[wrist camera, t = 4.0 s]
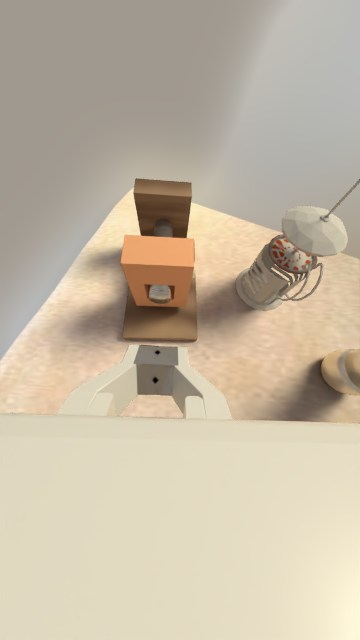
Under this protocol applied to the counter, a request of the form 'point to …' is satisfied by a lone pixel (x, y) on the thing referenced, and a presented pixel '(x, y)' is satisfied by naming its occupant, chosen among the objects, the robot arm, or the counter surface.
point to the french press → (292, 256)
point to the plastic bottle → (343, 371)
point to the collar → (158, 267)
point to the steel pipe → (161, 292)
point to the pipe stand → (174, 206)
